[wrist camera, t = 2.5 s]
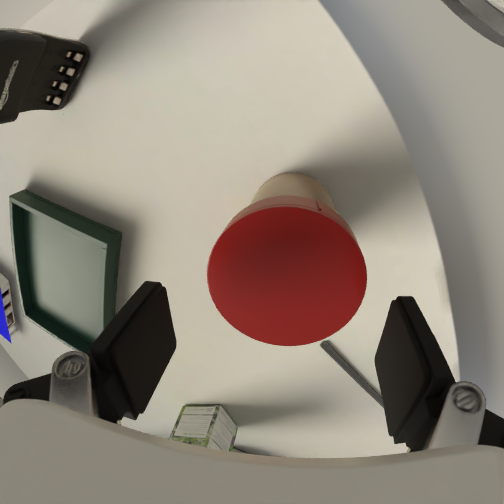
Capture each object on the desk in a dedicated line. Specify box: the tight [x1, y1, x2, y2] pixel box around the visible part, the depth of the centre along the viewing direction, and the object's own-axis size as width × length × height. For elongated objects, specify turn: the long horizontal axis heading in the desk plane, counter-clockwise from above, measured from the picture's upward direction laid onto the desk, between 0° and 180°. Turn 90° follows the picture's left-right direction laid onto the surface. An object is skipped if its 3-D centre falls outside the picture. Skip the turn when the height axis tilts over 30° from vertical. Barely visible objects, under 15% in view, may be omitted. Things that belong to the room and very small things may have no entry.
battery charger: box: [0, 28, 90, 124], centre depth 13 cm, size 7×4×11 cm, turn 143°
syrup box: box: [169, 405, 238, 452], centre depth 27 cm, size 6×6×14 cm
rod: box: [320, 341, 384, 408], centre depth 28 cm, size 1×19×1 cm, turn 43°
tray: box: [9, 190, 122, 354], centre depth 27 cm, size 17×14×2 cm
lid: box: [207, 195, 367, 346], centre depth 13 cm, size 7×7×2 cm
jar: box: [249, 173, 338, 214], centre depth 17 cm, size 6×6×10 cm
